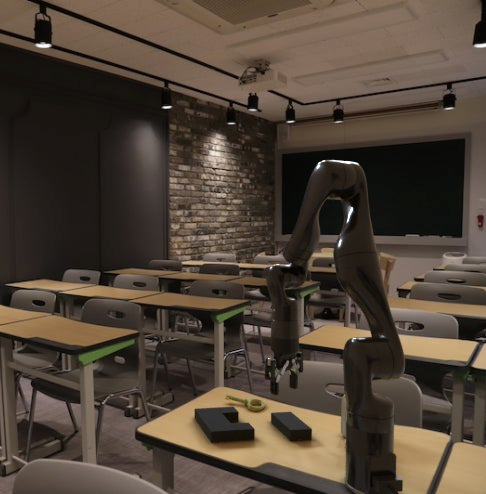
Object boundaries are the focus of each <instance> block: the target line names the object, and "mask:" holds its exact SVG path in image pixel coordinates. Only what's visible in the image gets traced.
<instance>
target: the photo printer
mask: <svg viewBox="0 0 486 494" xmlns="http://www.w3.org/2000/svg"><path fill="white" fill-rule="evenodd" d="M340 403H341V404H340V434H341V435H342V436H343V437H344V438H346V397H345V394H344V395H343V396H342V397H341V402H340Z"/></svg>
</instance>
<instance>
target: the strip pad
mask: <svg viewBox="0 0 486 494" xmlns="http://www.w3.org/2000/svg"><path fill="white" fill-rule="evenodd" d="M270 423H271V425H273V426H274V428H276V429H277V430H278V431H279V432H280V433H281V434H282V435H283V436H284V437H285V438H286V439H287V440H288V441H289V442H298V441H300V442H301V441H311V440H312V439H313V429H312V427H310V426H309V424H307V423H305V422H304V421H303V420H302V419H300V417H298V416H297V415H295V414H294V413H293V412H292V411H279V412H278V411H277V412H276V411H275V412H270Z"/></svg>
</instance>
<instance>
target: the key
mask: <svg viewBox="0 0 486 494" xmlns="http://www.w3.org/2000/svg"><path fill="white" fill-rule="evenodd" d="M224 400H227V401H229V400H231V401H234V402H237V403H241V404H244V406H246V405H247V409H248V410H250V411H253V412H259V411H262V410H263V409H264V408H265V406H266V404H265V402H264V401H263V400H262V399H259V398H252V399H250V400H248V399H247V398H245V399H244V398H240V397H237V396H233V395H230V394H226V395H225V397H224ZM253 404H259V405H260V406H254V405H253Z"/></svg>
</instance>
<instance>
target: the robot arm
mask: <svg viewBox="0 0 486 494" xmlns="http://www.w3.org/2000/svg"><path fill="white" fill-rule="evenodd" d="M326 200H339V201H340V202H341V205H342V211H343V224H342V228H341V230H340V232H339V234H338V236H337V239H336V242H335V244H334V247H333V252H332V254H333V257H332V258H333V263H334V268H335V269H334V270H335V273H336V278H337V281H338V283H339V285H340V287H341V288H342V290H343V291H344V292H345V293H346V294H347V296H348V297H349V299H351V301H353V303H354V304H355V305H356V306H357V308H358V309H359V310H360V311H361V313H362V314H363V316H364V318H365V320H366V323H367V325H368V328H369V331H370V336H360V337H359V336H358V337H357V336H355V337H351V338H349V339H348V340H346V342H345V344H344V346H343V350H342V368H343V372H342V373H343V392H344V395H345V397H346V437H345V460H344V461H345V465H344V468H345V469H344V470H345V471H344V472H345V473H344V486H345V488H346V489H347V490H348V491H350V492H351V493H353V494H400V493H401V492H403V489H404V479H402V478H401V477H400V476H398V474H397V454H396V453H395V451H394V449H395V408H396V406H395V402H394V401H393V400H392V398H390V397H388V396H386V395H385V394H382V393H379V392H376V391H374V390H373V382H383V381H396V380H399V379H401V378H402V377H403V376H404V374H405V369H406V358H405V352H404V348H403V344H402V342H401V341H402V340H401V338H400V335H399V332H398V329H397V326H396V323H395V320H394V316H393V314H392V311H391V307H390V303H389V299H388V295H387V291H386V287H385V282H384V276H383V271H382V266H381V260H380V256H379V252H378V248H377V245H376V240H375V235H374V231H373V225H372V220H371V212H370V203H369V194H368V183H367V177H366V174H365V171H364V169H363V167H362V166H361V165H360V164H359V163H358V162H354V161H347V160H345V161H344V160H335V159H331V160H330V159H325V160H322V161H319V162H318V163H317V164H316V166H315V167H314V168H313V170H312V172H311V175H310V177H309V181H308V182H307V186H306V189H305V194H304V196H303V199H302V203H301V207H300V211H299V214H298V217H297V221H296V224H295V226H294V229H293V231H292V233H291V236H289V239H288V241H287V243H286V245H285V247H284V250H283V253H282V256H283V258H284V260H285V262H287V263H284V264H282V263H281V264H280V263H279V264H273V265H271V266H269V268H268V269H267V271H266V274H265V282H266V286H267V290H268V293H269V294H268V295H269V298H270V302H271V323H270V350H271V351H272V353H273V356H272V357H271V358H270V357H266V358H265V364H264V380H267V381H269V391H270V394H271V395H274V396H278V395H279V394H280V382H279V381H280V379H281V377H282V376H283V375H284V374H285V372H287V371H288V373H289V381H288V382H289V384H288V385H289V388H290V389H293V390H297V389H298V385H299V383H298V382H299V376H300V374H301V373H304V353H303V352H301V351H300V323H299V301H298V300H297V299H296V298H294V297H290V296H287V294H286V291H285V290H297V289H299V288H301V287H302V286H303V285H304V284H305V282H306V281H307V277H308V271H309V265H310V260H311V258H312V257H313V256H314V253H315V251H316V249H317V248H318V246H319V243H320V240H321V226H320V220H319V219H320V218H319V217H320V211H321V208H322V207H323V205H324V203H325V202H326Z"/></svg>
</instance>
